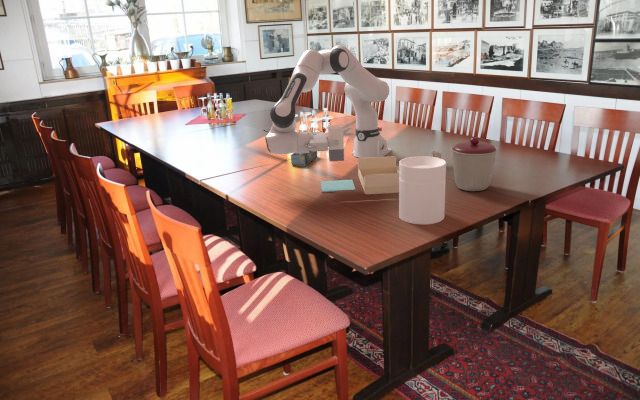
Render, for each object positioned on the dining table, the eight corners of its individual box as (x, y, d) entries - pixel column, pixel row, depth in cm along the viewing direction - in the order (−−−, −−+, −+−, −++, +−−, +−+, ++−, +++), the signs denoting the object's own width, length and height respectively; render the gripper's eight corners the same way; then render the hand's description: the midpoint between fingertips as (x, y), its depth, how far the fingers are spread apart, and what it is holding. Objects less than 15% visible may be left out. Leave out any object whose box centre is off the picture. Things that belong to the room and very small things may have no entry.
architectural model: (435, 170, 242) (436, 154, 240) (425, 166, 248) (425, 151, 245) (441, 168, 244) (441, 153, 241) (431, 165, 249) (431, 150, 247)
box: (329, 161, 217) (328, 128, 212) (329, 158, 222) (327, 125, 217) (344, 160, 217) (343, 127, 213) (343, 157, 222) (342, 125, 217)
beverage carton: (290, 166, 259) (289, 153, 256) (303, 156, 276) (303, 144, 274) (305, 167, 256) (304, 154, 254) (318, 157, 273) (317, 145, 271)
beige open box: (365, 195, 211) (365, 175, 208) (358, 176, 236) (357, 158, 233) (407, 193, 211) (407, 172, 208) (395, 174, 237) (396, 156, 234)
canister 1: (438, 207, 194) (439, 155, 188) (449, 223, 179) (451, 167, 172) (395, 209, 194) (395, 157, 187) (403, 225, 179) (403, 169, 172)
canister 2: (461, 178, 226) (463, 130, 219) (502, 185, 215) (505, 135, 208) (441, 190, 213) (443, 139, 206) (484, 197, 202) (487, 144, 195)
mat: (321, 192, 217) (321, 191, 216) (320, 182, 230) (320, 181, 230) (355, 190, 217) (355, 189, 217) (352, 180, 230) (352, 179, 230)
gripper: (304, 140, 206) (339, 138, 206) (304, 130, 225) (336, 128, 225) (305, 156, 208) (340, 154, 208) (305, 144, 227) (336, 142, 227)
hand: (338, 140), depth 217 cm, fingers closed on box, 5 cm apart
